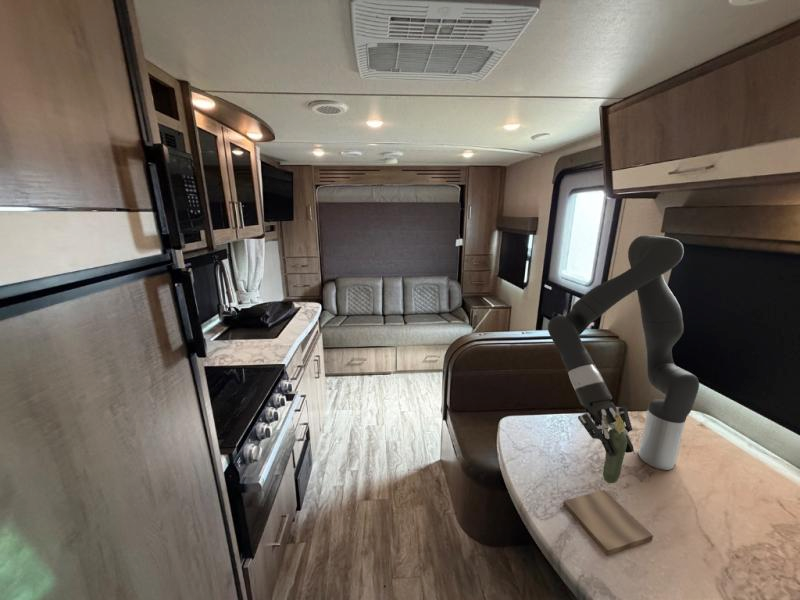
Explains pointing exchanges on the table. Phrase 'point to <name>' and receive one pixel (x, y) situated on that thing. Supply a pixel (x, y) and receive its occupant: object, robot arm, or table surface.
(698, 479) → the table surface
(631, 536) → the cutting board
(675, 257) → the robot arm
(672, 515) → the table surface
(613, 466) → the vegetable
